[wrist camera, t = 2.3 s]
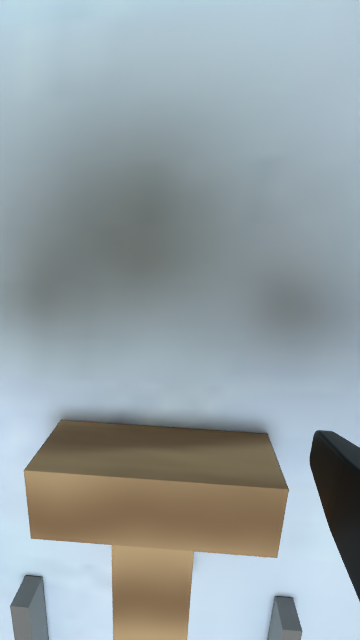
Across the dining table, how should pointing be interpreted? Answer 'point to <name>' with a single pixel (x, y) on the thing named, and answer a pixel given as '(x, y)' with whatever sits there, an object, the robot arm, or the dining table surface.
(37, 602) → the fence pocket
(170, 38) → the dining table surface
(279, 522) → the t block
